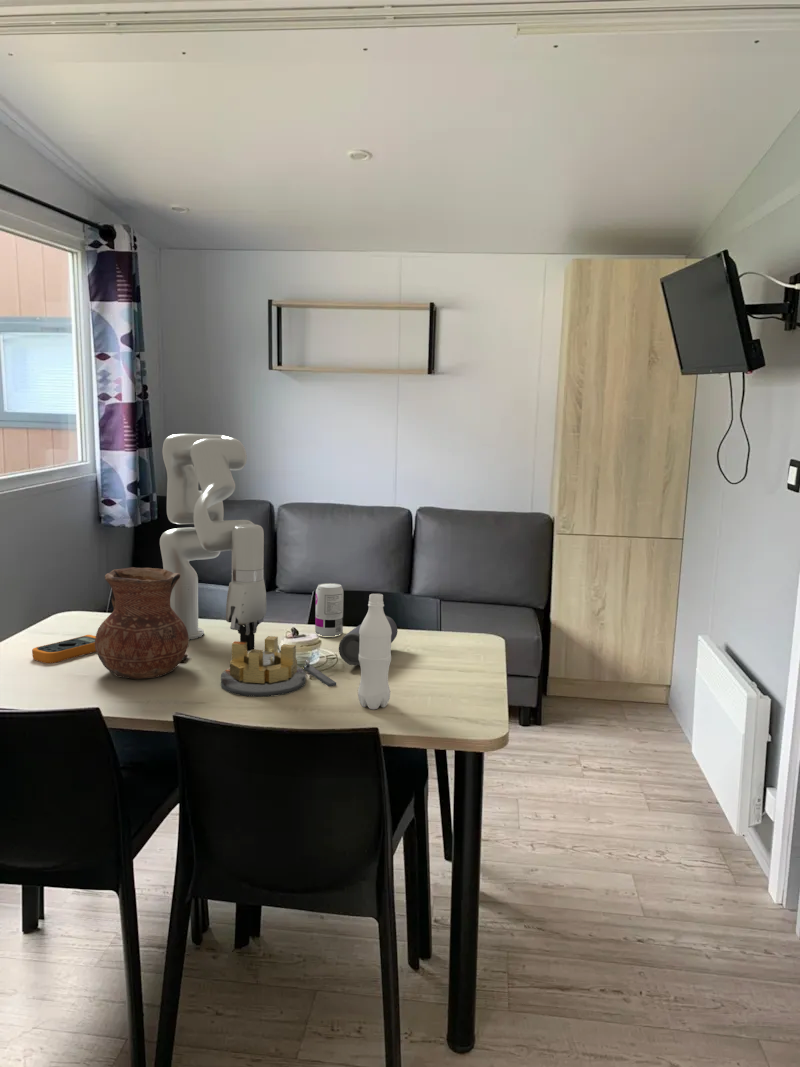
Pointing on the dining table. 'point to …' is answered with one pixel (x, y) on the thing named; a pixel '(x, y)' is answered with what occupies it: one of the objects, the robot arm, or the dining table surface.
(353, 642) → the bluetooth speaker
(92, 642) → the multimeter
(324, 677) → the pin spanner
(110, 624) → the clay pot
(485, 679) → the dining table surface
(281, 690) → the housing
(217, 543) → the robot arm
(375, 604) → the water bottle
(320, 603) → the supplement can
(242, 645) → the ring nut
